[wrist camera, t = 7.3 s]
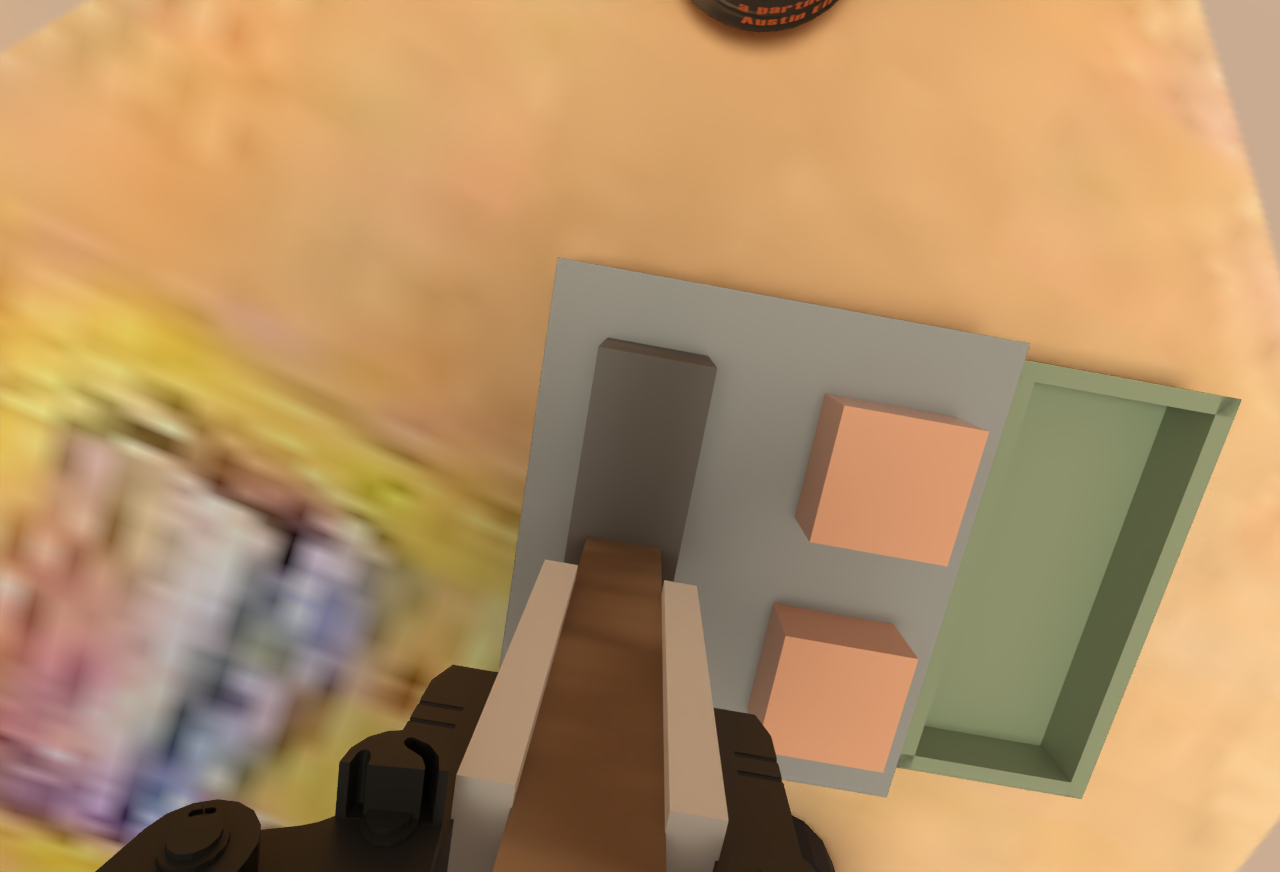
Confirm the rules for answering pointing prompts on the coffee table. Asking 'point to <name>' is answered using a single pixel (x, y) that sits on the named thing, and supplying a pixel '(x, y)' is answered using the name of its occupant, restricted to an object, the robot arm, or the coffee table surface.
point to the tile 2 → (888, 479)
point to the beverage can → (764, 12)
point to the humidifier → (812, 847)
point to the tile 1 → (831, 686)
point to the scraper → (614, 624)
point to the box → (1062, 576)
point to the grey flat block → (762, 461)
